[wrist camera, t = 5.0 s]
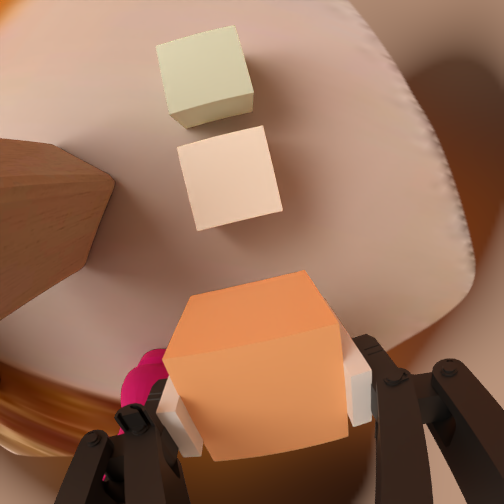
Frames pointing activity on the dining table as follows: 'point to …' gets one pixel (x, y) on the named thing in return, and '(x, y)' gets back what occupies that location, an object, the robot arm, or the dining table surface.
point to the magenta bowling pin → (143, 379)
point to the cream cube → (229, 178)
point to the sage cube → (205, 77)
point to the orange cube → (260, 368)
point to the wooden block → (45, 217)
